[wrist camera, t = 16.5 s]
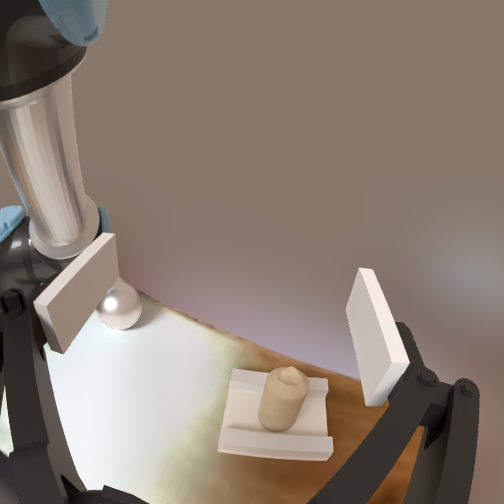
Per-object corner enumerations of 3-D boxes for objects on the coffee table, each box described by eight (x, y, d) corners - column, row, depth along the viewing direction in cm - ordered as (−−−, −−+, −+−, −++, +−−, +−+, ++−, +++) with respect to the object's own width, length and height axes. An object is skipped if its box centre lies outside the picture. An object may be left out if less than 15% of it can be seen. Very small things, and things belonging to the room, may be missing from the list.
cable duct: (217, 451, 36) (218, 442, 34) (230, 379, 48) (231, 368, 46) (326, 460, 36) (333, 452, 34) (322, 389, 47) (327, 378, 46)
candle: (264, 397, 44) (275, 354, 39) (299, 408, 43) (316, 366, 38) (252, 425, 39) (261, 384, 35) (289, 437, 38) (306, 398, 33)
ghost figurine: (129, 302, 61) (124, 260, 57) (152, 328, 56) (148, 284, 51) (91, 317, 55) (81, 274, 51) (110, 346, 50) (100, 302, 45)
